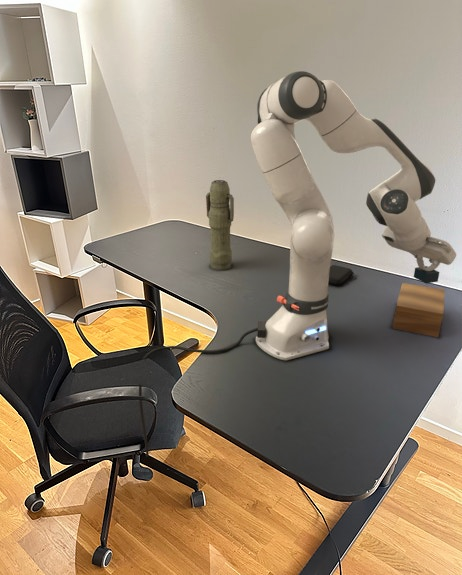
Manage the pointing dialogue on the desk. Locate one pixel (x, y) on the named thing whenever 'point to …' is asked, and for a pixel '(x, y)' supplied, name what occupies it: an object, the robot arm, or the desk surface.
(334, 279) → the carrying case
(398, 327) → the wooden display stand
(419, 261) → the watch
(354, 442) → the desk surface
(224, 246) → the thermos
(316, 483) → the desk surface
